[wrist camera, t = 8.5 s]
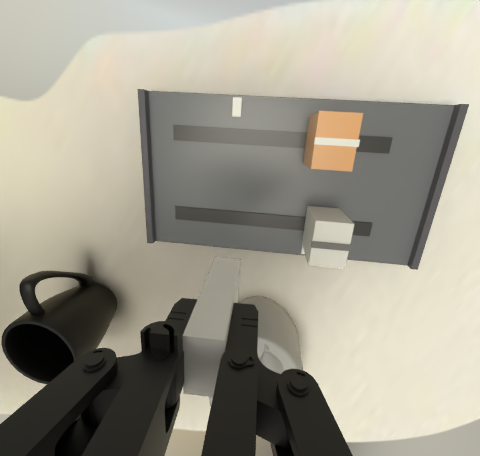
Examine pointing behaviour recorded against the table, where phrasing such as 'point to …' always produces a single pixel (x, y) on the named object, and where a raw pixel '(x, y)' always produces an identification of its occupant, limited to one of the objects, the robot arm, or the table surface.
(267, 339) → the lumpy-topped squat cylinder
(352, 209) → the console
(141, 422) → the robot arm
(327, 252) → the fader
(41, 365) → the mug
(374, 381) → the table surface
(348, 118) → the fader
